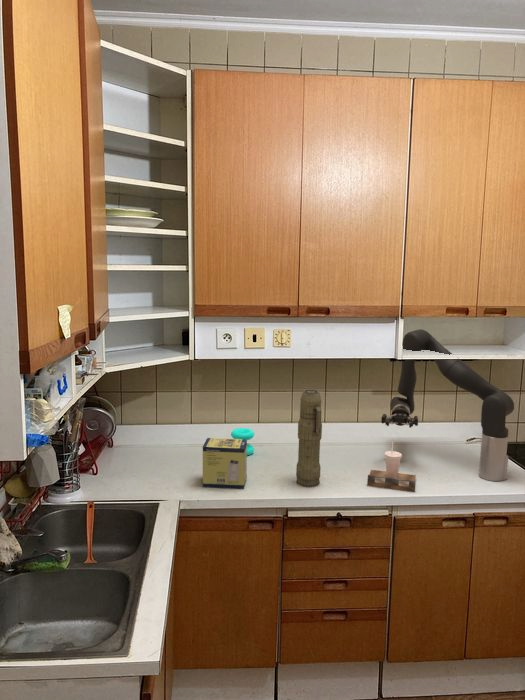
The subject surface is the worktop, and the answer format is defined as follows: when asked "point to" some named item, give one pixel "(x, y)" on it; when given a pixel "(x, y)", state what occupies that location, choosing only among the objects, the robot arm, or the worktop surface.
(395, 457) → the smoothie
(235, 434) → the donuts
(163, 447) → the worktop surface
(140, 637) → the worktop surface
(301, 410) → the thermos
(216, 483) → the protein box
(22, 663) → the worktop surface
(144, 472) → the worktop surface
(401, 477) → the shelf board
